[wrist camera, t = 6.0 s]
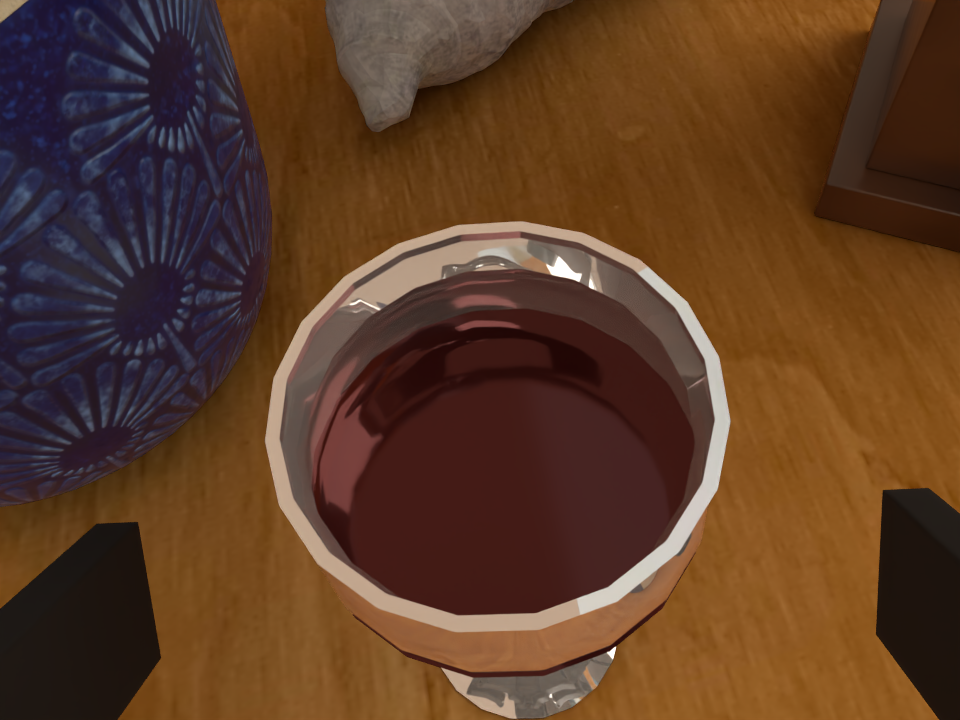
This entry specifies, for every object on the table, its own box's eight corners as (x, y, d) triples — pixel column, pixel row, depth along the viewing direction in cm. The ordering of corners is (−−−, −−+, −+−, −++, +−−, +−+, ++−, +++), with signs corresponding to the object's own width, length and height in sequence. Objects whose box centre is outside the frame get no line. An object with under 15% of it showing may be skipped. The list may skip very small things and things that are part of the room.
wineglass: (618, 477, 24) (659, 185, 14) (687, 730, 21) (807, 583, 11) (383, 521, 24) (254, 258, 14) (412, 783, 21) (269, 686, 11)
